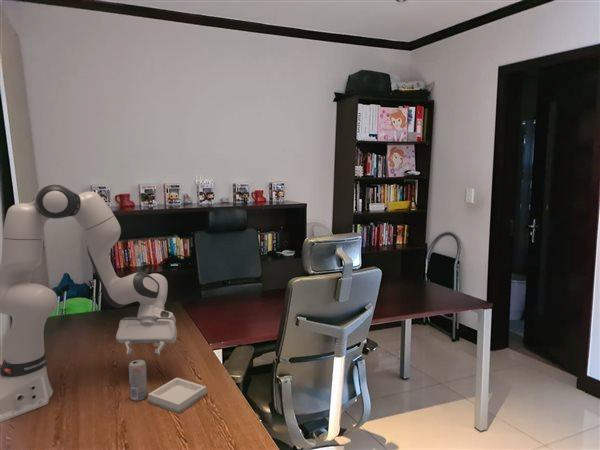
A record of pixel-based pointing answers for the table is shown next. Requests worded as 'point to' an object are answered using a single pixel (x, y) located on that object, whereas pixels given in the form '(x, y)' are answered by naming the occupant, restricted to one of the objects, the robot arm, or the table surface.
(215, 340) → the table surface
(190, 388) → the tray
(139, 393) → the energy drink
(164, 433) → the table surface
